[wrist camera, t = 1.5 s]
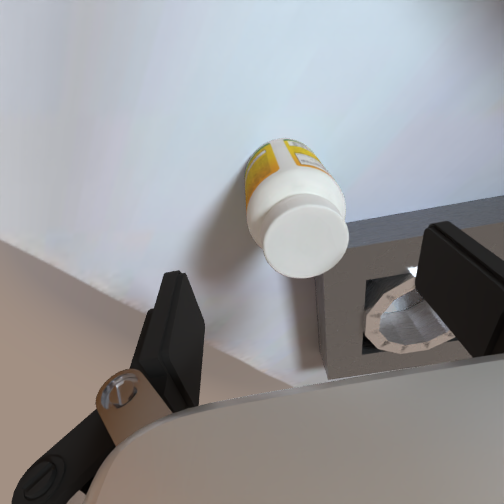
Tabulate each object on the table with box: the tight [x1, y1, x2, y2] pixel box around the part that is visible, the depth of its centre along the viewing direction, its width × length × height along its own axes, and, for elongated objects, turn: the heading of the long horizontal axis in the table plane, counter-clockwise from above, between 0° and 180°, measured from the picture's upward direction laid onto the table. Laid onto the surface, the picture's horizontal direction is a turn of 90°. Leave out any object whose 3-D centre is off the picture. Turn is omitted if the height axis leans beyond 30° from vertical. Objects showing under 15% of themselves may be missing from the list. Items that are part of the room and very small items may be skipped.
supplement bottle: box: [245, 138, 349, 278], centre depth 17 cm, size 5×5×10 cm
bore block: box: [315, 196, 504, 380], centre depth 26 cm, size 16×16×4 cm
